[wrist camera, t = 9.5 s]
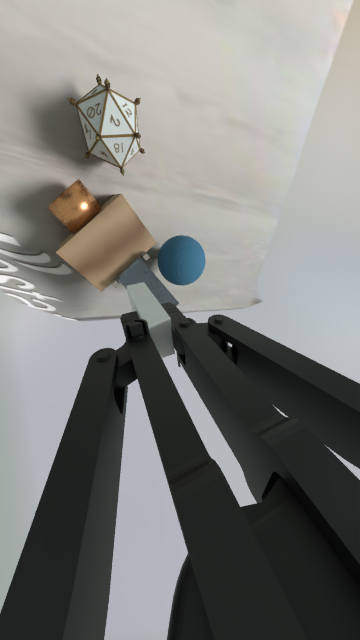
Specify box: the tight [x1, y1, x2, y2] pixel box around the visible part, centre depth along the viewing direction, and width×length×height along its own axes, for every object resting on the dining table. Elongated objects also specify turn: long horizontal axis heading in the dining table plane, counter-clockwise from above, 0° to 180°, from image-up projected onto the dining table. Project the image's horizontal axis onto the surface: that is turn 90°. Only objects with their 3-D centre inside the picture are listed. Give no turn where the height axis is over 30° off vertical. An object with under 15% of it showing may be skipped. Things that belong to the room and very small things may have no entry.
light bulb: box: [158, 235, 205, 285], centre depth 35 cm, size 8×8×12 cm
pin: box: [47, 180, 102, 234], centre depth 31 cm, size 16×6×6 cm, turn 35°
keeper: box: [116, 256, 179, 306], centre depth 30 cm, size 10×5×1 cm
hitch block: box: [56, 194, 156, 292], centre depth 31 cm, size 8×12×9 cm
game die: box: [68, 74, 145, 175], centre depth 24 cm, size 9×8×10 cm
